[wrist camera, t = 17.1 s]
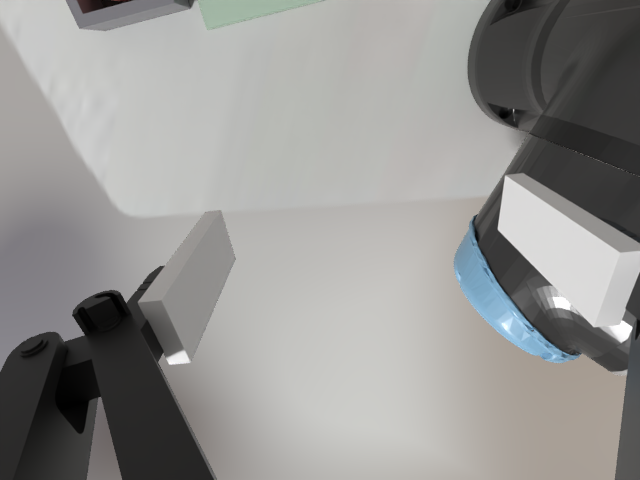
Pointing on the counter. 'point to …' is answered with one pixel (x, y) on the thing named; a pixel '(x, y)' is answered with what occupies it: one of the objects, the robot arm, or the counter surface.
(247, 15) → the sage square
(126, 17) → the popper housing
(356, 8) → the counter surface
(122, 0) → the red dome
